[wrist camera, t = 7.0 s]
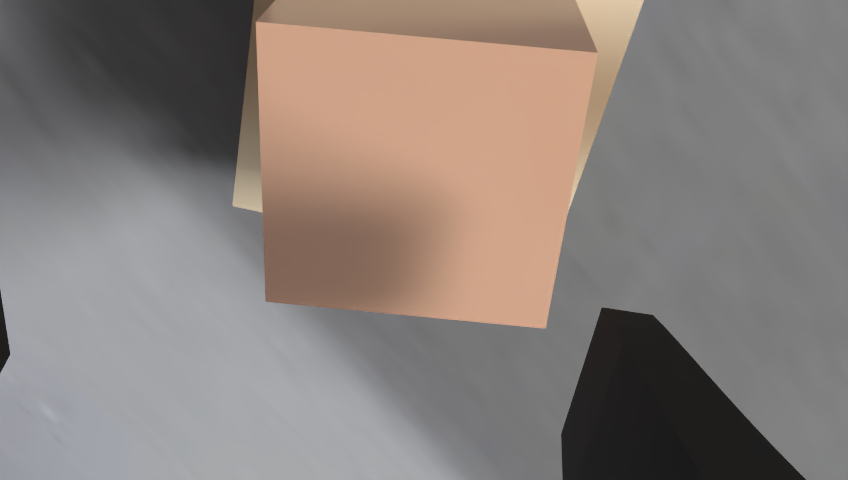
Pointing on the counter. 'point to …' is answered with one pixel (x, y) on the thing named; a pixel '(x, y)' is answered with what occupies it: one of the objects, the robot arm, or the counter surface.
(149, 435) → the counter surface
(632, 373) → the robot arm
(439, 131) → the terracotta cube
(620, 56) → the oak block
